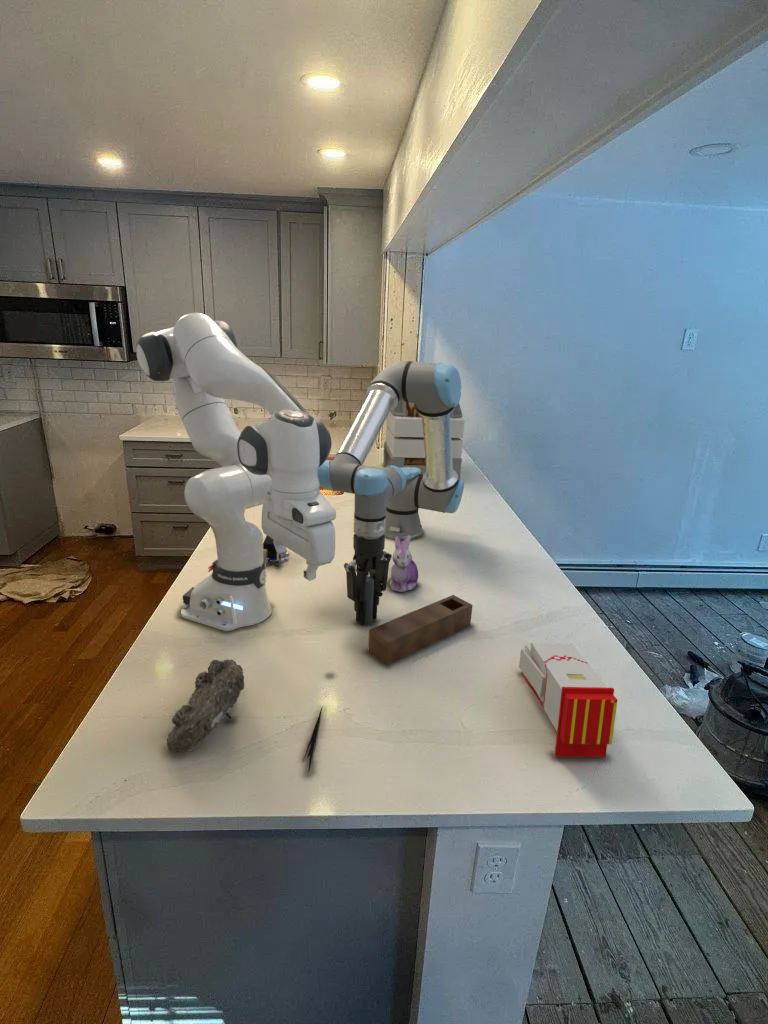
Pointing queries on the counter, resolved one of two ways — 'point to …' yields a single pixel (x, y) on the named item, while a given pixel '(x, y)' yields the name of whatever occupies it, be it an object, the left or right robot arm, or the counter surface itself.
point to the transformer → (416, 437)
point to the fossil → (206, 705)
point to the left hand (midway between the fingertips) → (296, 569)
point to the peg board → (419, 629)
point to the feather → (313, 740)
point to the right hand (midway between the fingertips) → (366, 619)
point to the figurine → (403, 567)
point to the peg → (369, 600)
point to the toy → (570, 698)
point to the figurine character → (269, 550)
